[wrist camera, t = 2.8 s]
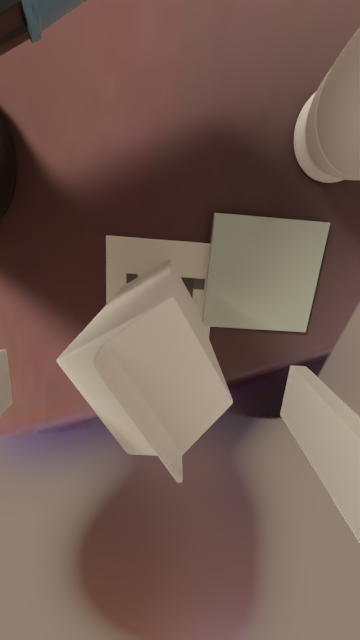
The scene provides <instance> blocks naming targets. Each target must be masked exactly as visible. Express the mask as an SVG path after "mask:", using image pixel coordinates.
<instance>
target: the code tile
mask: <svg viewBox="0 0 360 640" xmlns="http://www.w3.org/2000/svg"><path fill="white" fill-rule="evenodd" d="M209 253H210V243H198V242H185V241H173V240H160V239H148V238H135V237H122V236H110V235H106V304H107V303H108V302H109V301H110V300H111V299H112V298H113V297H114V296H115V295H116V293H117V292H118V291H119V290H120V289H121V288H122V287H123V286H124V285H125V284H127V283H129V282H131V281H132V280H134V279H136V278H138V277H140V276H141V275H143V274H145V273H147V272H148V271H150V270H152V269H154V268H155V267H157V266H159V265H161V264H162V263H164V262H166V261H168V260H170V259H171V261H172V262H173V264H174V266H175V268H176V270H177V272H178V273H179V275H180V277H181V279H182V281H183V282H184V284H185V286H186V288H187V290H188V292H189V293H190V295H191V297H192V299H193V301H194V303H195V304H196V307H197V309H198V312H199V314H200V317H201V320H202V319H203V310H204V300H205V291H206V281H207V272H208V262H209ZM204 327H205V330H206V333H207V335H208V338H209V333H210V327H209V326H204Z"/></svg>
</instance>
